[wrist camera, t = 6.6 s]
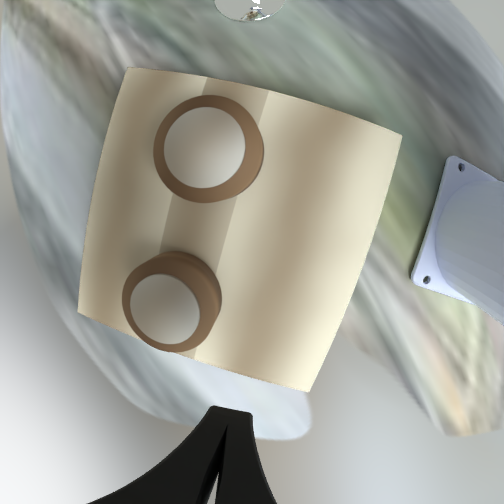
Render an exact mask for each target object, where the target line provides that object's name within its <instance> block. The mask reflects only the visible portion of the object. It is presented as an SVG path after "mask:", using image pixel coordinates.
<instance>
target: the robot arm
mask: <svg viewBox="0 0 504 504" xmlns="http://www.w3.org/2000/svg"><path fill="white" fill-rule="evenodd" d="M459 163H460V164H461V166H462V170H461V171H460V170H459V168H458V165H459ZM425 276H428V280H427V281H426V282H423V279H424V277H425ZM411 281H412V282H413V283H414V284H415V285H417V286H420V287H423V288H426V289H429V290H432V291H435V292H438V293H441V294H444V295H447V296H450V297H453V298H456V299H459V300H462V301H465V302H468V303H471V304H474V305H476V306H478V307H479V308H480V309H482V310H483V311H484V312H486V313H487V314H488V315H490V316H491V317H492V318H494V319H495V320H496V321H498V322H499V323H500V324H502V325H503V326H504V181H499V180H498V179H496V178H494V177H493V176H491V175H489V174H488V173H486V172H484V171H482V170H481V169H479V168H477V167H475V166H474V165H472V164H470V163H468V162H467V161H465V160H463V159H461V158H459V157H457V156H449V157H448V158H447V160H446V163H445V167H444V171H443V175H442V179H441V183H440V187H439V191H438V194H437V198H436V201H435V205H434V208H433V212H432V215H431V218H430V221H429V225H428V228H427V231H426V234H425V237H424V240H423V243H422V246H421V249H420V252H419V254H418V257H417V260H416V263H415V265H414V268H413V271H412V273H411ZM218 473H219V475H218ZM217 475H218V483H217V491H216V499H215V504H277V503H276V501H275V499H274V497H273V494H272V492H271V490H270V488H269V485H268V483H267V480H266V477H265V474H264V472H263V469H262V465H261V462H260V458H259V455H258V452H257V447H256V443H255V437H254V431H253V416H252V414H251V413H249V412H243V411H238V410H233V409H228V408H223V407H219V406H214V405H213V406H211V407H210V408H209V409H208V411H207V413H206V414H205V416H204V417H203V418H202V420H201V421H200V422H199V424H198V425H197V426H196V427H195V429H194V430H193V431H192V432H191V433H190V434H189V435H188V436H187V437H186V438H185V440H184V441H183V442H182V443H181V444H180V445H179V446H178V447H177V448H176V449H174V450H173V451H172V452H171V453H170V454H169V455H168V456H167V457H166V458H165V459H163V460H162V461H161V462H160V463H159V464H157V465H156V466H155V467H153V468H152V469H151V470H149V471H148V472H146V473H145V474H144V475H142V476H141V477H139V478H137V479H136V480H134V481H133V482H131V483H129V484H128V485H126V486H124V487H123V488H121V489H119V490H117V491H115V492H113V493H111V494H109V495H106V496H104V497H102V498H100V499H98V500H95V501H93V502H90V503H88V504H207V502H208V499H209V497H210V494H211V492H212V489H213V486H214V483H215V481H216V478H217Z"/></svg>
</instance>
